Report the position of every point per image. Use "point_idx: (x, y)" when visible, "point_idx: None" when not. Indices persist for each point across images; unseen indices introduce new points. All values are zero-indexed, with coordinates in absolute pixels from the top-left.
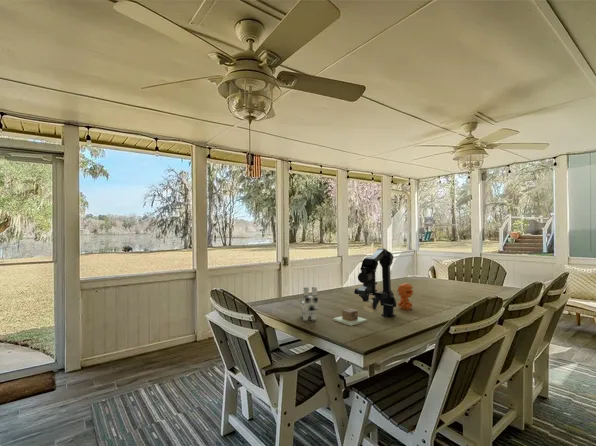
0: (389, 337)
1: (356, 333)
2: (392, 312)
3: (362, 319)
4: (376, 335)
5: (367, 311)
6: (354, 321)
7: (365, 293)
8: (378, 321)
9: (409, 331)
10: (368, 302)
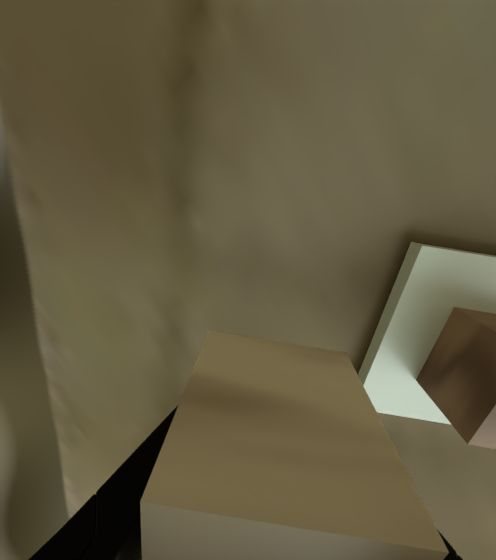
0: (54, 195)
1: (283, 85)
2: None
3: (379, 388)
4: (137, 168)
5: (277, 342)
6: (417, 316)
7: None
8: None
9: (64, 373)
10: (261, 532)
